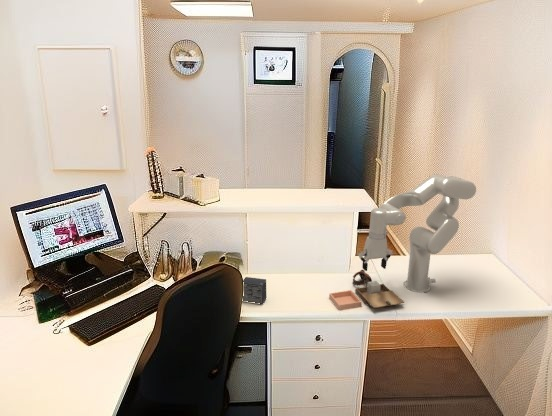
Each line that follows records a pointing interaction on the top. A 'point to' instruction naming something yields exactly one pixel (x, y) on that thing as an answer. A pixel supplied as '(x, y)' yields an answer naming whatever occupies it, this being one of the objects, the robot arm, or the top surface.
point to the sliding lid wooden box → (378, 297)
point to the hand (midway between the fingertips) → (374, 268)
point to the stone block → (373, 287)
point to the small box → (254, 290)
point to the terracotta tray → (345, 300)
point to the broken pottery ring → (363, 276)
